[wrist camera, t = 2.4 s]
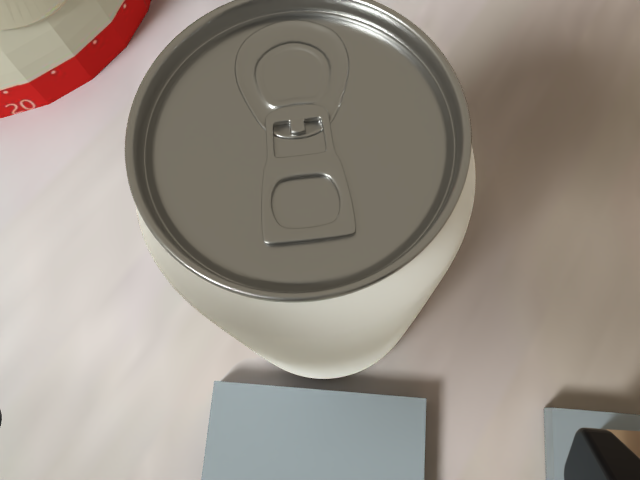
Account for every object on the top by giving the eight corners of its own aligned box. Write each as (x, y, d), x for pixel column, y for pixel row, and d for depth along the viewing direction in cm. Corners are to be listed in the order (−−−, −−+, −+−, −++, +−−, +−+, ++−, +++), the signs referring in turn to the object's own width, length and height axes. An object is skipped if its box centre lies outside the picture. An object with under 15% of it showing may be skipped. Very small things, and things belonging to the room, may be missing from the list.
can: (400, 194, 22) (460, -56, 10) (428, 369, 20) (541, 304, 8) (229, 214, 22) (98, -12, 10) (241, 390, 20) (95, 355, 8)
